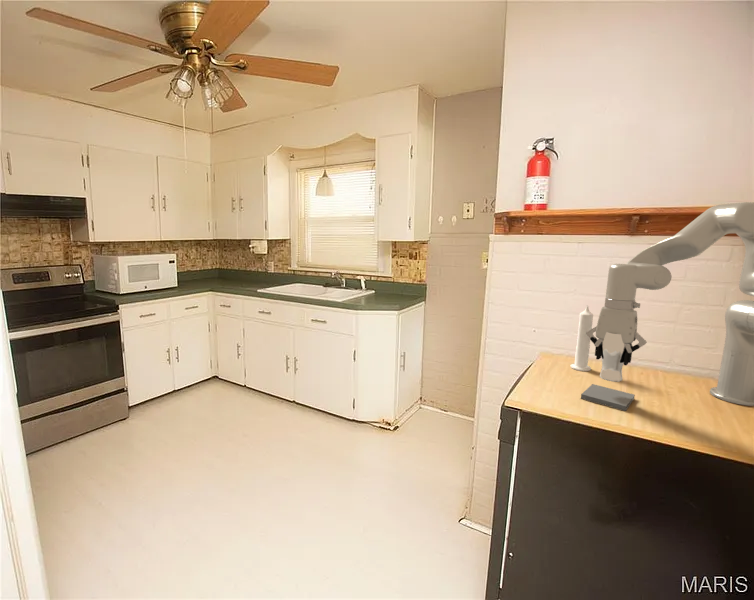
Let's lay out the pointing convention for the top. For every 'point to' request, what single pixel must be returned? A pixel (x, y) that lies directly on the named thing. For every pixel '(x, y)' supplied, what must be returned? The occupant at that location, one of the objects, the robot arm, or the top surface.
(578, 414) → the top surface
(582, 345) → the candle
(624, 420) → the top surface
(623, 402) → the slate coaster
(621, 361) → the beer glass
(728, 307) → the robot arm
